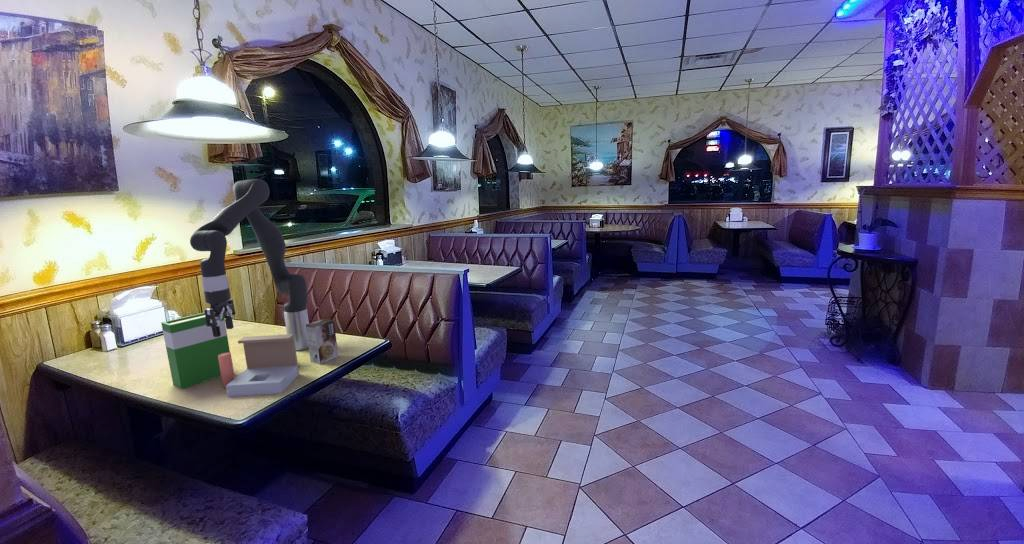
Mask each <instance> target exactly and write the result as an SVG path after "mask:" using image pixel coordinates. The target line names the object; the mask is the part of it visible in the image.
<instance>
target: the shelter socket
mask: <svg viewBox="0 0 1024 544" xmlns="http://www.w3.org/2000/svg"><path fill="white" fill-rule="evenodd" d="M237 344H239V345H240V344H243V351H244V356H245V364H246V369H244V371H242V372H241V373H240V374H239V375H237V376H235V379H234V380H232V381H231V382H230V383H229V384H227V385H226V388H225V389H226V395H227V397H238V396H255V395H270V394H271V395H272V394H282V393H283V392H284V391H285V390H286V388H288V387H289V386H290V385H291V383H292V382H294V380H295V379H296V378H297V377H298V376H299V375H300V372H299V365H298V364H299V363H298V356H297V351H296V348H295V340H294V334H287V333H286V334H272V335H271V334H270V335H268V334H267V335H256V336H255V335H251V336H243V337H242V338H240V339H238V340H237Z"/></svg>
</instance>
